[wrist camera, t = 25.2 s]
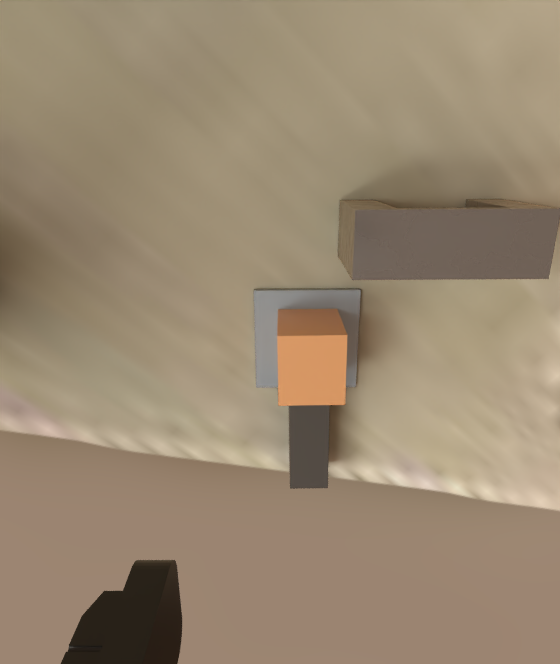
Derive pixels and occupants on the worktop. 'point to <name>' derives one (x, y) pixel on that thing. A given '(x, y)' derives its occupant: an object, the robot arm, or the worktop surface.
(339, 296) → the mat
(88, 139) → the worktop surface
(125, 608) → the robot arm
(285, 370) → the plug
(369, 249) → the block
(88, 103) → the worktop surface
